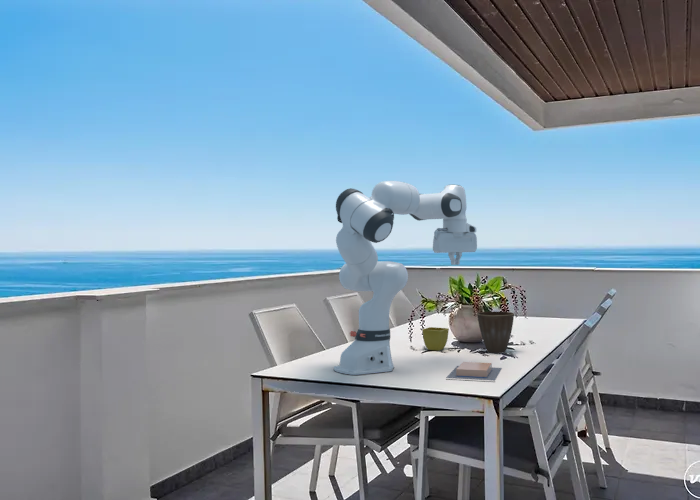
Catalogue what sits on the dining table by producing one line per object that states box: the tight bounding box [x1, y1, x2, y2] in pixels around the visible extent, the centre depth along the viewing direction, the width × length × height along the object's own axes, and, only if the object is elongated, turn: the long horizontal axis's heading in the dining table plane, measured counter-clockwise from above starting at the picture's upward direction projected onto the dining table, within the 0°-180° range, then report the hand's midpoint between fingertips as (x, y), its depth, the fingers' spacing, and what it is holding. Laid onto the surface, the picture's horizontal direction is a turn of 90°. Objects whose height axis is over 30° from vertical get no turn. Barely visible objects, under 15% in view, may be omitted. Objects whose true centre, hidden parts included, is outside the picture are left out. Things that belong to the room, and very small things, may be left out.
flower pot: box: [422, 326, 450, 352], centre depth 276 cm, size 9×9×9 cm
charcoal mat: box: [445, 365, 503, 383], centre depth 223 cm, size 22×16×1 cm
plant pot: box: [476, 311, 515, 354], centre depth 269 cm, size 15×15×16 cm
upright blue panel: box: [456, 361, 493, 378], centre depth 222 cm, size 2×10×14 cm
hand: (455, 264), depth 245 cm, fingers closed
